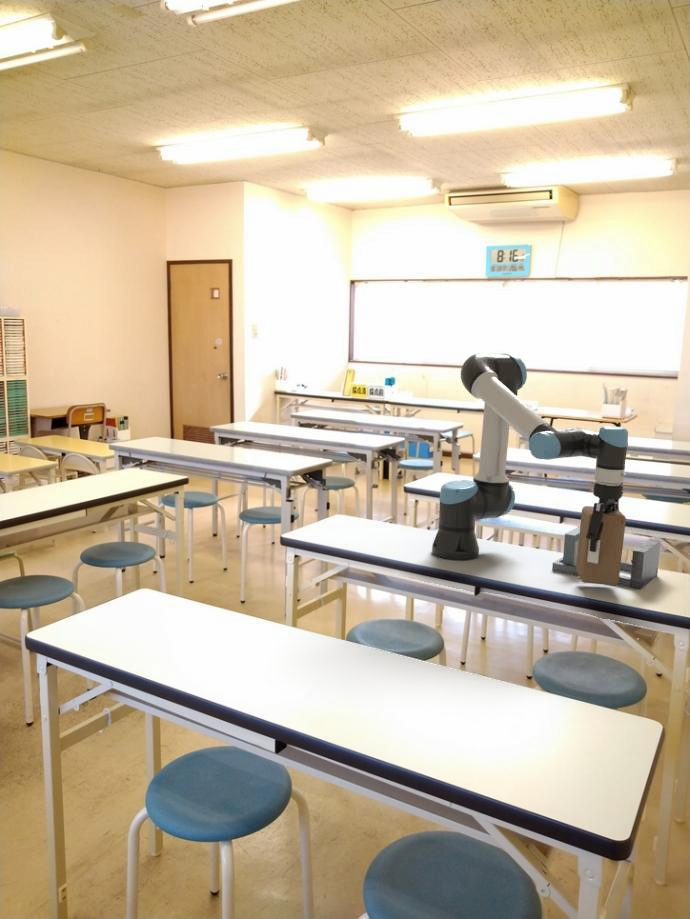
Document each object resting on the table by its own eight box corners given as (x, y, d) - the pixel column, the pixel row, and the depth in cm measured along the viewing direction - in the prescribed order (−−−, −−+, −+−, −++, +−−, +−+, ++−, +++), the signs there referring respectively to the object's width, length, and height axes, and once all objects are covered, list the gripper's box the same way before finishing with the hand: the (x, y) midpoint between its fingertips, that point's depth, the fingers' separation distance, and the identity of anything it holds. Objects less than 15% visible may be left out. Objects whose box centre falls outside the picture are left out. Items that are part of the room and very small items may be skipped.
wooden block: (619, 586, 198) (627, 516, 194) (581, 583, 199) (589, 514, 195) (610, 574, 208) (617, 507, 204) (574, 571, 209) (581, 505, 205)
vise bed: (552, 570, 219) (554, 535, 217) (572, 558, 232) (575, 525, 230) (640, 589, 203) (644, 552, 201) (657, 575, 216) (660, 540, 215)
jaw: (562, 568, 220) (565, 533, 218) (575, 560, 229) (578, 527, 227) (573, 571, 218) (576, 535, 216) (586, 563, 226) (589, 529, 225)
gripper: (607, 492, 186) (599, 570, 190) (636, 478, 205) (628, 550, 209) (578, 487, 190) (571, 564, 194) (609, 474, 210) (602, 544, 214)
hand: (601, 556), depth 202 cm, fingers closed on wooden block, 13 cm apart
